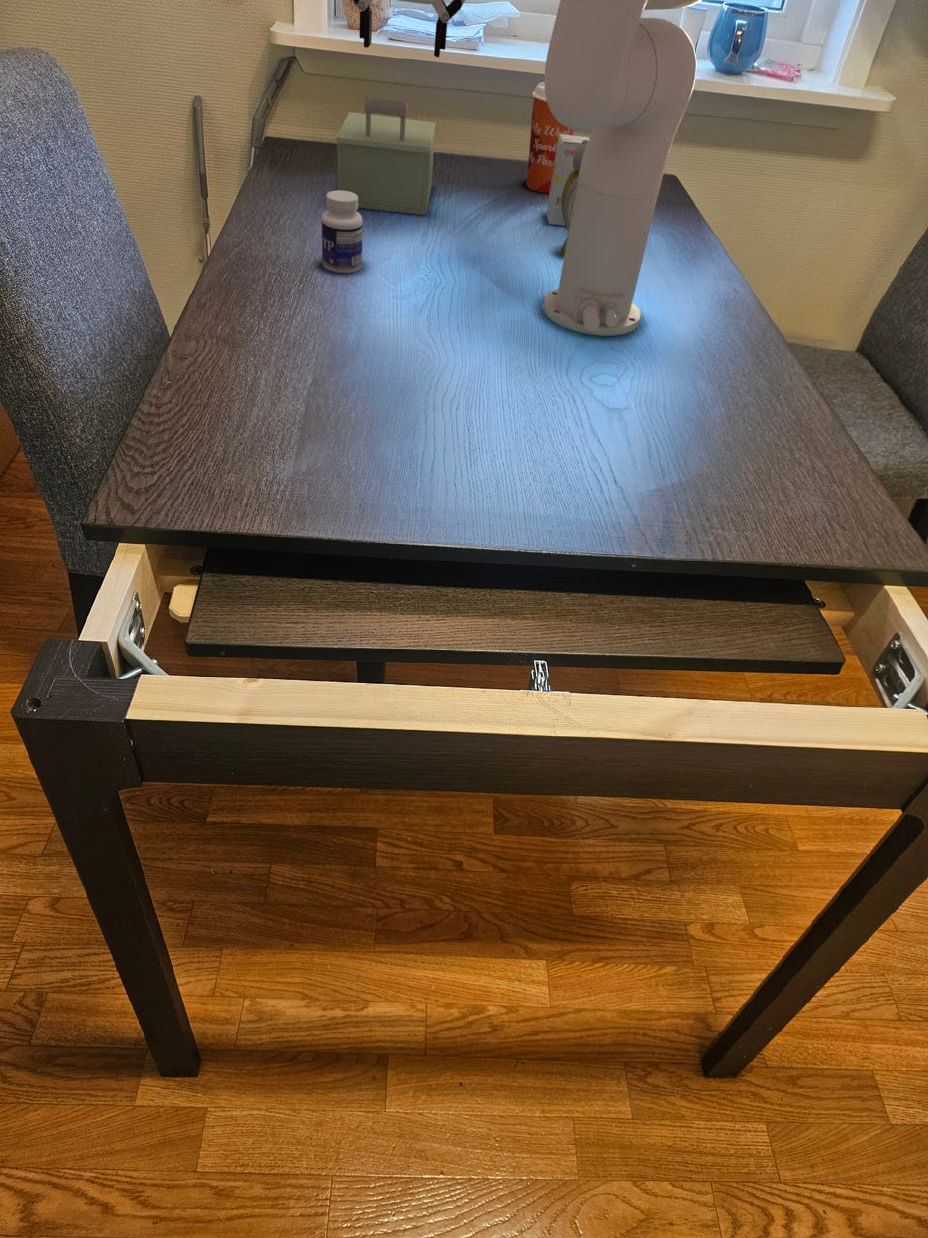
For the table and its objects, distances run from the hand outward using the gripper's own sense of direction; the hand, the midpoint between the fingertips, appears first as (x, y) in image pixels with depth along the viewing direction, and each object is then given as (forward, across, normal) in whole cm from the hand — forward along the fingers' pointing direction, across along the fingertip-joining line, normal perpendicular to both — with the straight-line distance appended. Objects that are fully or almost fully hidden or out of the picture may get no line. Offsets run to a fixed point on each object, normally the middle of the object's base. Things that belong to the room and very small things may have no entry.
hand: (402, 50), depth 116 cm
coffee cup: (+21, +24, +19) cm, 37 cm away
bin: (+21, -2, +5) cm, 22 cm away
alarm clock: (+21, +30, -10) cm, 38 cm away
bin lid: (+12, -2, +5) cm, 13 cm away
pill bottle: (+21, -5, -25) cm, 33 cm away
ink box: (+21, +28, +3) cm, 35 cm away
